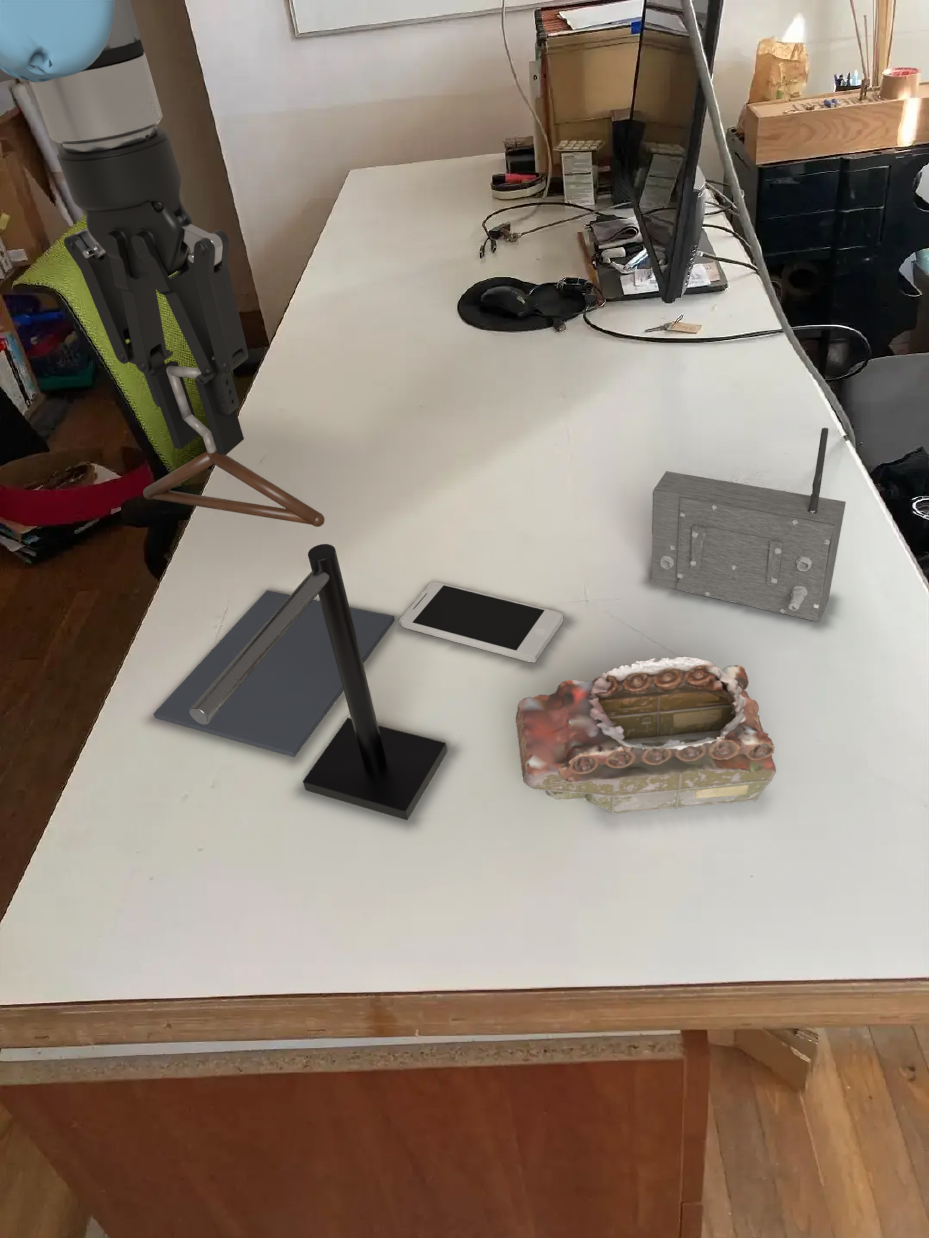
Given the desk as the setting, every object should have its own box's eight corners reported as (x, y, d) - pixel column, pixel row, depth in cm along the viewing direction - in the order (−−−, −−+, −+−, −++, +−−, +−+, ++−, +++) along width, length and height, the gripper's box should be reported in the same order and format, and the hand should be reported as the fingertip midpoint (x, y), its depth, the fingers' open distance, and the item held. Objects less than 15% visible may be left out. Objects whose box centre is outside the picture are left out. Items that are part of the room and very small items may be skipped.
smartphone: (534, 664, 89) (534, 656, 89) (399, 626, 96) (397, 619, 95) (564, 619, 94) (564, 612, 93) (433, 587, 101) (432, 580, 100)
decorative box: (783, 864, 70) (799, 779, 63) (517, 865, 72) (507, 783, 66) (755, 735, 80) (765, 651, 73) (521, 740, 82) (513, 659, 76)
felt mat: (155, 718, 90) (152, 713, 89) (268, 594, 103) (266, 590, 103) (294, 757, 84) (292, 752, 83) (395, 620, 97) (394, 616, 97)
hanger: (142, 501, 85) (87, 362, 76) (151, 494, 86) (97, 356, 77) (321, 530, 78) (282, 380, 69) (328, 522, 78) (291, 373, 70)
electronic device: (829, 598, 92) (861, 416, 80) (812, 639, 88) (844, 454, 75) (660, 562, 100) (665, 390, 87) (637, 598, 95) (639, 424, 83)
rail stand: (350, 726, 86) (292, 512, 71) (447, 751, 82) (408, 530, 67) (228, 899, 73) (126, 680, 58) (338, 938, 69) (259, 716, 54)
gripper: (244, 119, 62) (318, 432, 77) (56, 124, 68) (158, 413, 83) (175, 150, 57) (268, 479, 72) (-21, 152, 63) (102, 454, 78)
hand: (209, 443), depth 77 cm, fingers closed on hanger, 4 cm apart
